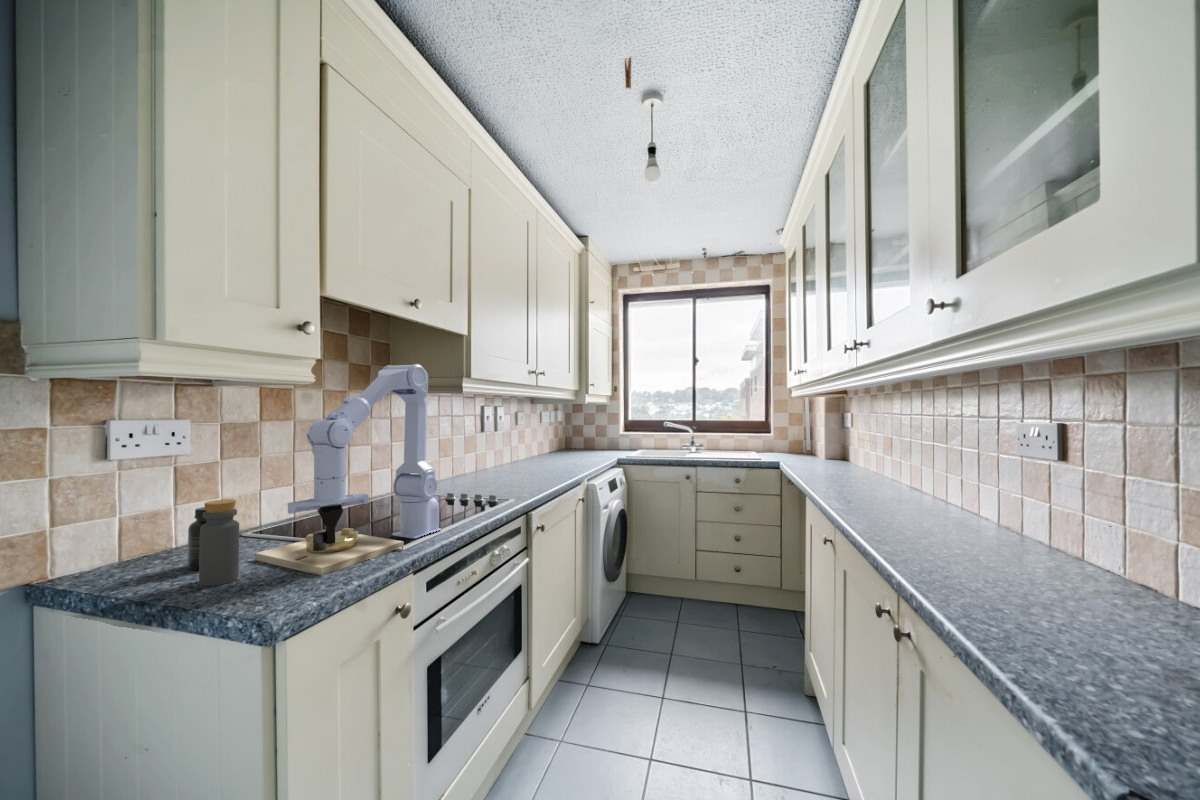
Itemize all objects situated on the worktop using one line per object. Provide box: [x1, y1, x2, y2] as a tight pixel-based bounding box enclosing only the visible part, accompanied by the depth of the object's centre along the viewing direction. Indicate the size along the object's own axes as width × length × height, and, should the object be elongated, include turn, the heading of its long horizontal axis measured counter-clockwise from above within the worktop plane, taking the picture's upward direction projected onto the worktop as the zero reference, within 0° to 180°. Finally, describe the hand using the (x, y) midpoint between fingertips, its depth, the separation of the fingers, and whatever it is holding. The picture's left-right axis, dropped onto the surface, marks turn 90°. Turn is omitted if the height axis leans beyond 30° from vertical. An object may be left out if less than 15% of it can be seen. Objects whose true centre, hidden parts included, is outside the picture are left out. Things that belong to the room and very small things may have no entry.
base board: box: [254, 530, 405, 577], centre depth 105 cm, size 20×22×2 cm
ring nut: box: [305, 527, 359, 553], centre depth 103 cm, size 10×15×6 cm, turn 15°
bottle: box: [198, 498, 240, 587], centre depth 89 cm, size 6×6×15 cm
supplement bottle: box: [187, 506, 207, 571], centre depth 97 cm, size 7×7×12 cm
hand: (329, 542), depth 97 cm, fingers closed, pressing on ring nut
